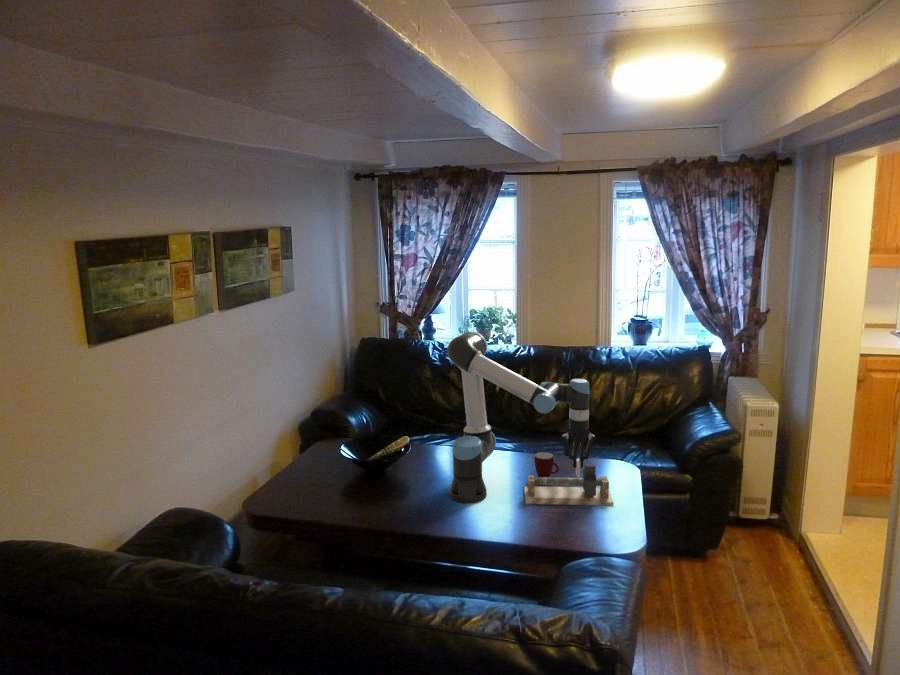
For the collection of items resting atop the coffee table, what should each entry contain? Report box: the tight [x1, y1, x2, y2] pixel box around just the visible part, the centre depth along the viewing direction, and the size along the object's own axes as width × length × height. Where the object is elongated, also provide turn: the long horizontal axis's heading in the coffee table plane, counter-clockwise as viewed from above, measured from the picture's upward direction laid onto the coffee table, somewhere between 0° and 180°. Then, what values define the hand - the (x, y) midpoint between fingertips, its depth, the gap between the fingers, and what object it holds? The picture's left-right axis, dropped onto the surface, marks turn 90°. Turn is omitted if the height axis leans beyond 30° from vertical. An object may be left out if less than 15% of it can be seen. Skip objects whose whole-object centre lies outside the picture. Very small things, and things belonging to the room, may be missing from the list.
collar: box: [582, 463, 597, 496], centre depth 253 cm, size 4×8×11 cm, turn 175°
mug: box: [534, 451, 560, 478], centre depth 273 cm, size 10×8×10 cm
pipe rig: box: [523, 474, 614, 506], centre depth 254 cm, size 34×14×8 cm, turn 85°
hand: (577, 475), depth 253 cm, fingers closed
